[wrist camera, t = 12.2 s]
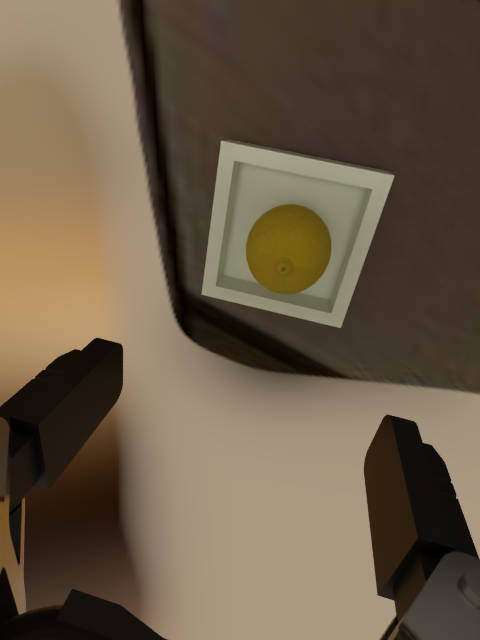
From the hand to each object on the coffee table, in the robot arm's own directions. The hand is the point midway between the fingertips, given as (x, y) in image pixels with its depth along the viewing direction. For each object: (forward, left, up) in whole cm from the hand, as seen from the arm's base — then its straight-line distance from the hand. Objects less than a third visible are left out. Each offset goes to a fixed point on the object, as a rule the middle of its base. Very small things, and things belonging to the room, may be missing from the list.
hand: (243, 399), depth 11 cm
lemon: (0, 0, -19) cm, 19 cm away
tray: (0, 0, -20) cm, 20 cm away
